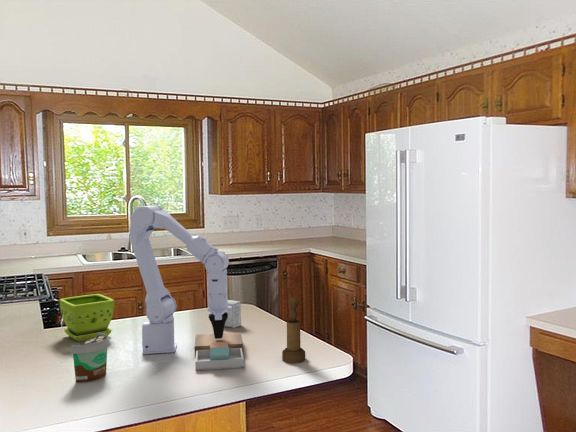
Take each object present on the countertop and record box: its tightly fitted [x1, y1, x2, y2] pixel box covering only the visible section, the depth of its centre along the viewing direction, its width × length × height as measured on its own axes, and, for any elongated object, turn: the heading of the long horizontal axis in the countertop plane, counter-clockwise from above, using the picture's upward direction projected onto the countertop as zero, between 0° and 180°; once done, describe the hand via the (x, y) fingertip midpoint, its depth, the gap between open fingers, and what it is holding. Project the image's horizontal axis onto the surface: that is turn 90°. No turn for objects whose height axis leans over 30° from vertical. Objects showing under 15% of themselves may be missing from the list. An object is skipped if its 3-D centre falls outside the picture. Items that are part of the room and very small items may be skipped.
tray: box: [194, 348, 245, 372], centre depth 146 cm, size 13×10×2 cm
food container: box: [70, 333, 111, 384], centre depth 136 cm, size 12×6×10 cm, turn 168°
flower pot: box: [59, 293, 115, 343], centre depth 173 cm, size 14×14×13 cm
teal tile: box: [210, 347, 229, 360], centre depth 142 cm, size 5×5×2 cm
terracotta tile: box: [210, 342, 228, 348], centre depth 147 cm, size 5×5×2 cm
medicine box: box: [224, 299, 242, 329], centre depth 185 cm, size 8×4×9 cm, turn 58°
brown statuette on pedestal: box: [281, 296, 306, 364], centre depth 148 cm, size 7×6×18 cm
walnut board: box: [194, 331, 244, 359], centre depth 157 cm, size 14×12×4 cm
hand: (218, 337), depth 155 cm, fingers closed
